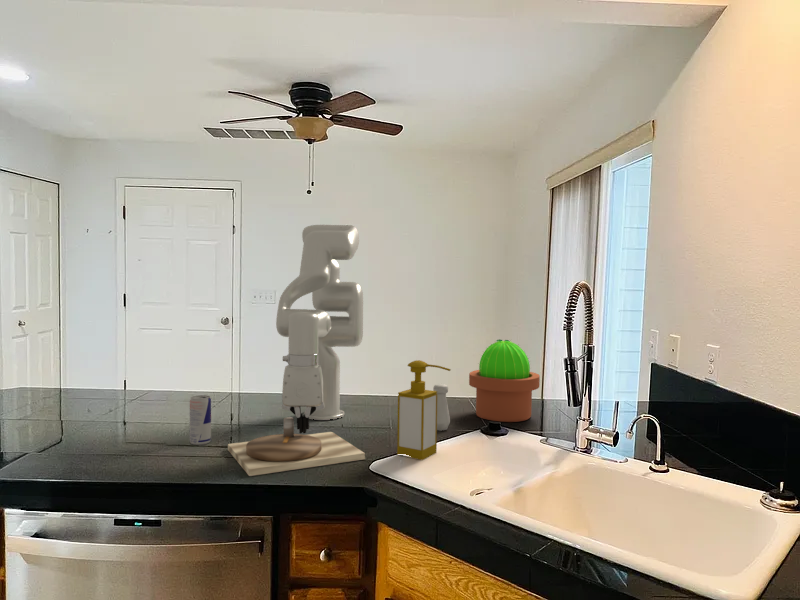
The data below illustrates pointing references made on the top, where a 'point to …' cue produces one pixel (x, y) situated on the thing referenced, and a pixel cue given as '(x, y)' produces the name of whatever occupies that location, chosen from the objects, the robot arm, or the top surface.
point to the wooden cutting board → (330, 454)
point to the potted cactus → (504, 383)
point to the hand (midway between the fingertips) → (303, 431)
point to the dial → (284, 445)
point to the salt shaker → (442, 407)
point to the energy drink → (200, 420)
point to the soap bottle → (417, 416)
